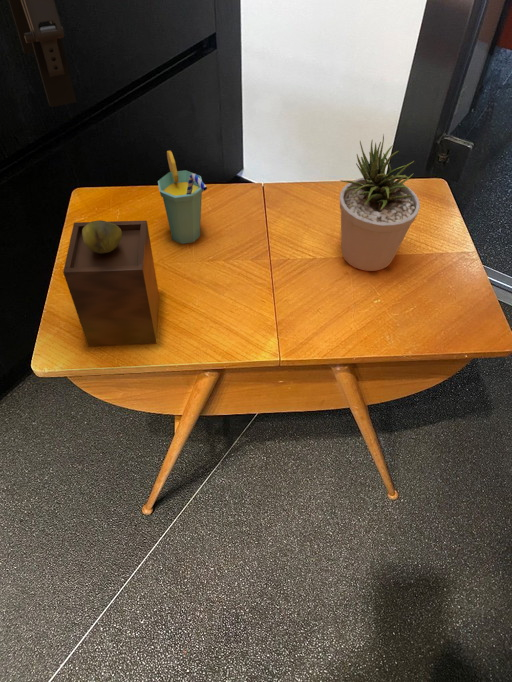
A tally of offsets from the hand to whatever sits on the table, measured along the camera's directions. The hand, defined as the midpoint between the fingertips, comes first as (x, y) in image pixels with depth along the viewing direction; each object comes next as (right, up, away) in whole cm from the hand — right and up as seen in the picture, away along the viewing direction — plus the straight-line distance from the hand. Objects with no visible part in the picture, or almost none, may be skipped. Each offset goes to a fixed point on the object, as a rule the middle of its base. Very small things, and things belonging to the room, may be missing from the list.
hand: (48, 75), depth 61 cm
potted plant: (+43, -14, +35) cm, 57 cm away
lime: (+3, -17, +13) cm, 22 cm away
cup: (+11, -11, +36) cm, 40 cm away
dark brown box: (+3, -26, +23) cm, 35 cm away
